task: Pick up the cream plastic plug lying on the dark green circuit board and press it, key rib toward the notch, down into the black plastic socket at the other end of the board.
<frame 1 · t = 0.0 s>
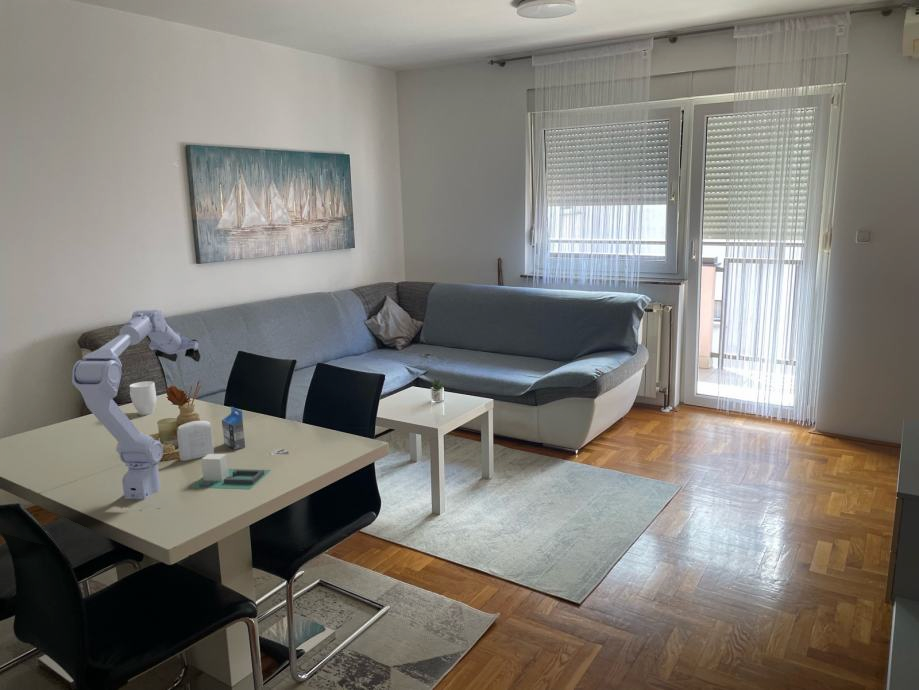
hand: (187, 358, 212), 32 cm above the table, tool tilted 50°, fingers open, 7 cm apart
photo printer: (197, 460, 218), on the table
plug: (216, 477, 198), point 1 cm above the table, touching board
milk carton: (234, 446, 229), on the table
board: (231, 482, 198), on the table
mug: (143, 413, 271), on the table
pliers: (265, 461, 215), on the table
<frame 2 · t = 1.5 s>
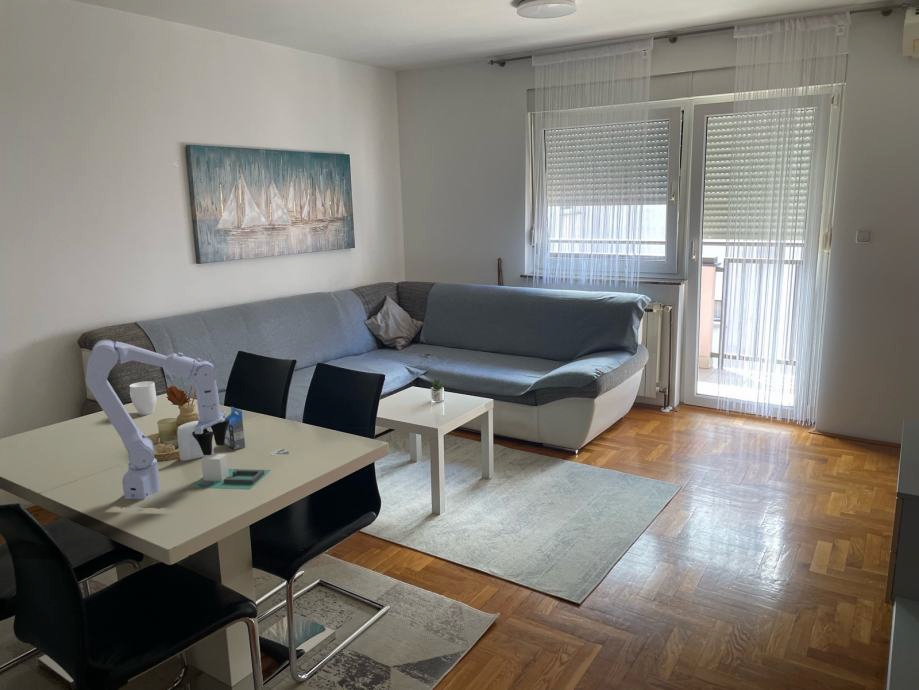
hand: (214, 449, 197), 10 cm above the table, tool pointing down, fingers open, 7 cm apart
nothing on the table moved.
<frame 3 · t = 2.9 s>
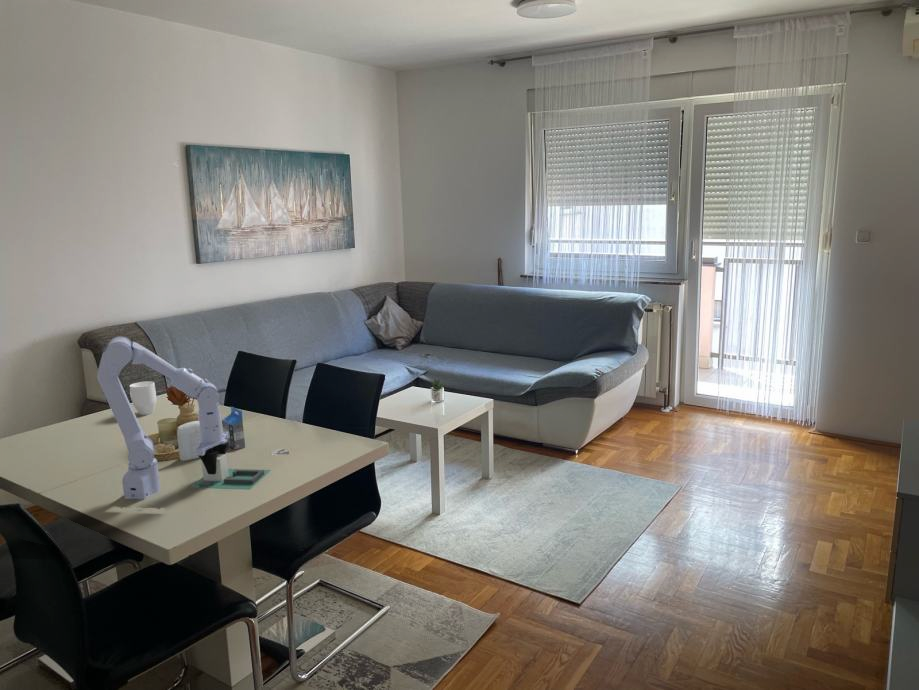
hand: (215, 470, 198), 3 cm above the table, tool pointing down, fingers closed on plug, 4 cm apart
plug: (216, 477, 198), point 1 cm above the table, touching board, gripper
everything else where it was.
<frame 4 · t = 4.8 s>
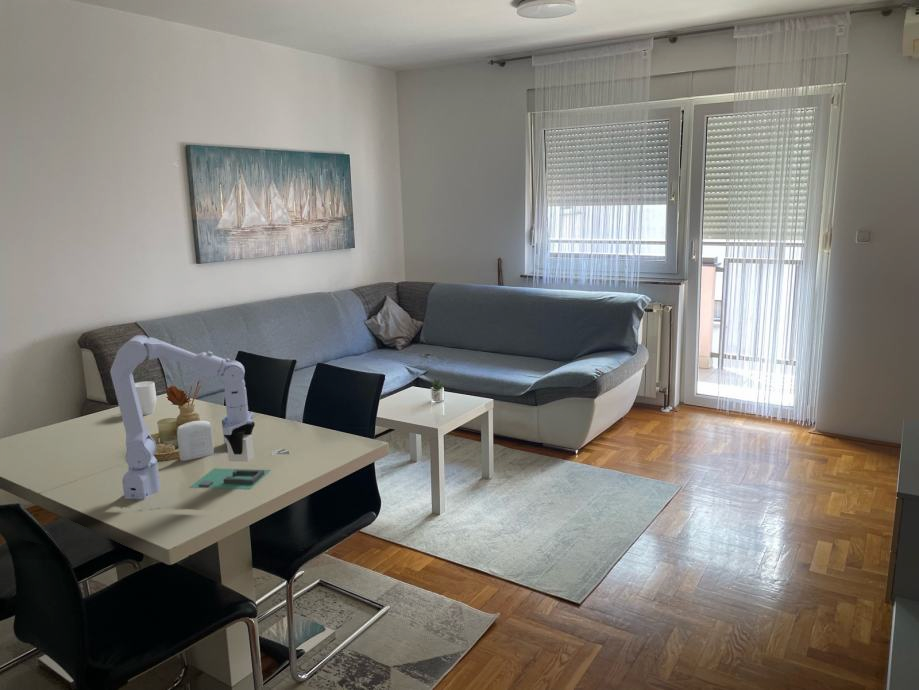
hand: (241, 451, 195), 10 cm above the table, tool pointing down, fingers closed on plug, 4 cm apart
plug: (242, 458, 196), point 7 cm above the table, touching gripper
everything else where it was.
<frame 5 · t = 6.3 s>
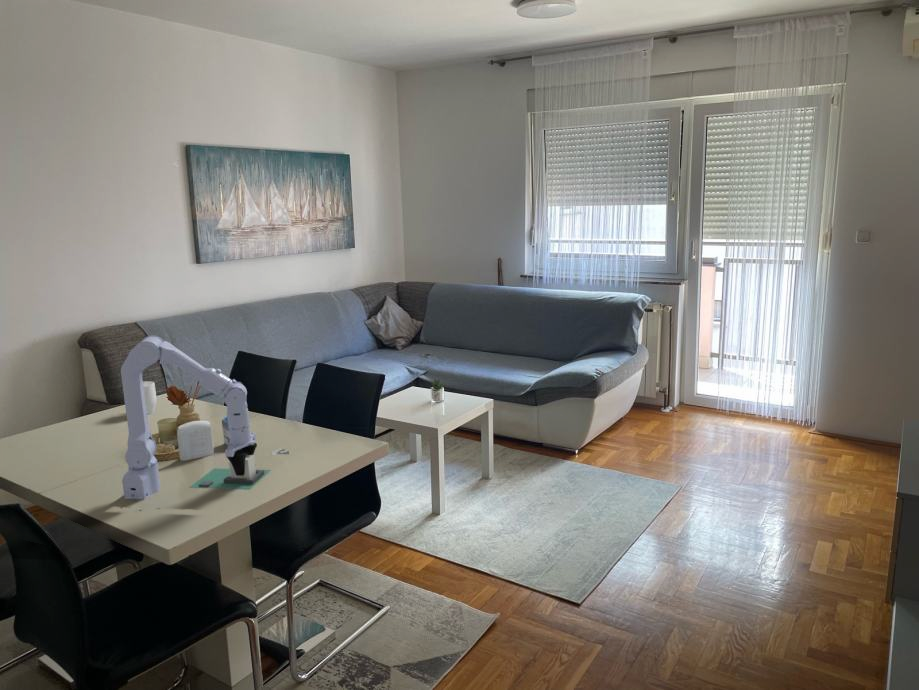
hand: (243, 472, 197), 3 cm above the table, tool pointing down, fingers closed on plug, 4 cm apart
plug: (244, 478, 197), point 1 cm above the table, touching board, gripper
everything else where it was.
when the fingers open (3 cm above the table, at t = 7.0 s): plug stays where it is, resting on board.
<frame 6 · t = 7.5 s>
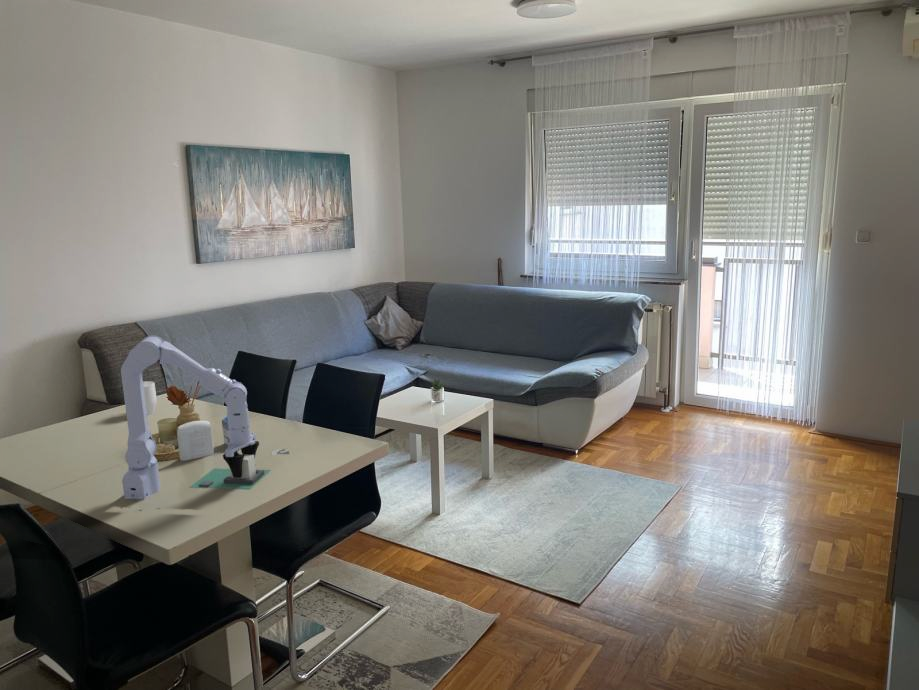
hand: (243, 472, 197), 3 cm above the table, tool pointing down, fingers open, 7 cm apart
plug: (244, 478, 197), point 1 cm above the table, touching board
everything else where it was.
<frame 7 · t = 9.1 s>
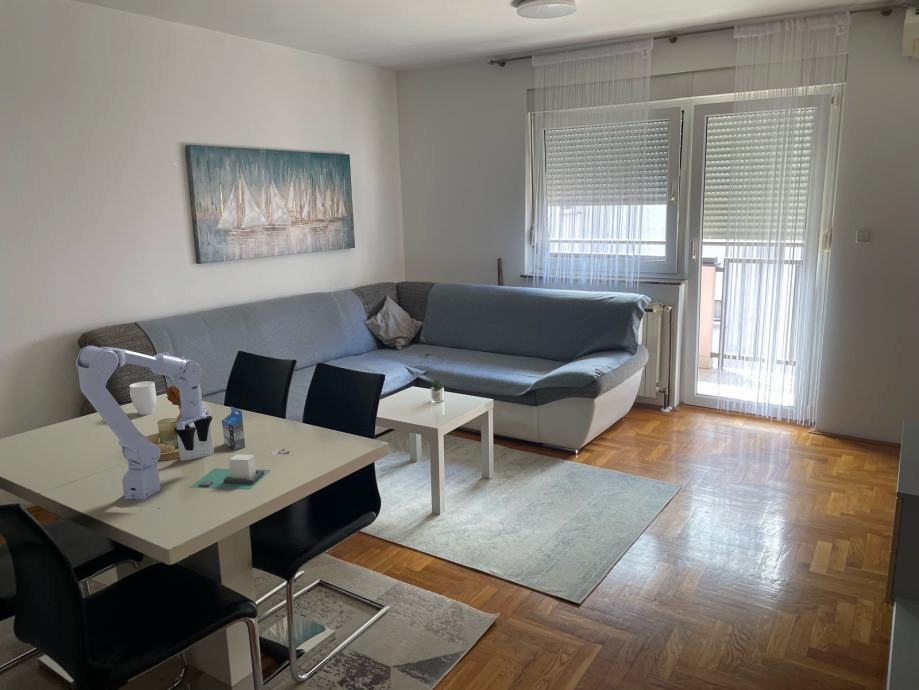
hand: (196, 445, 202), 9 cm above the table, tool pointing down, fingers open, 7 cm apart
nothing on the table moved.
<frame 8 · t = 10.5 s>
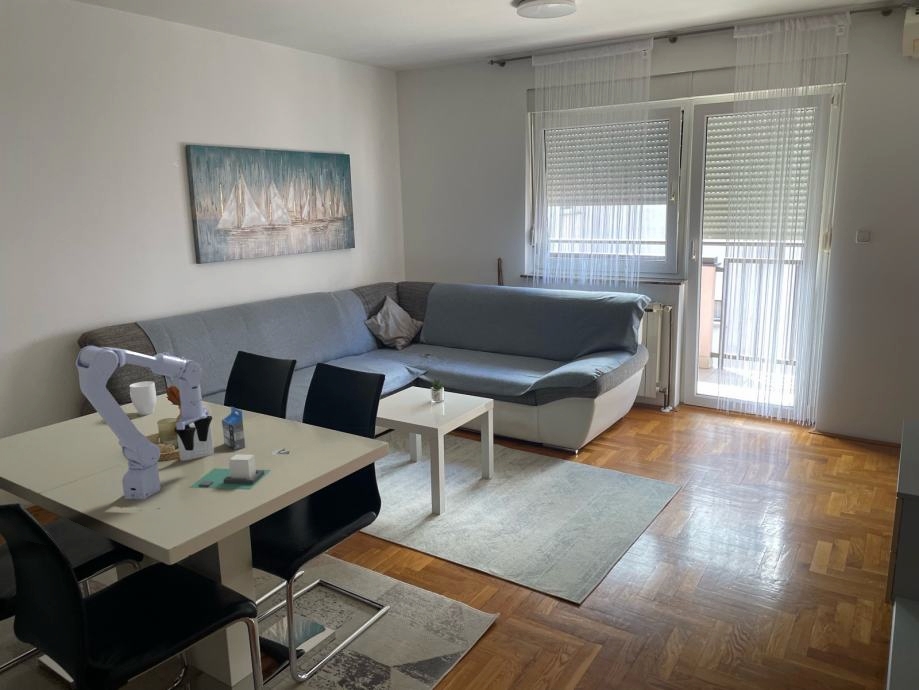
hand: (196, 445, 202), 9 cm above the table, tool pointing down, fingers open, 7 cm apart
nothing on the table moved.
at the end: plug 0.1 cm from the target spot on the board, point 1.2 cm above the board's base; plug tilted 0°; the gripper is holding nothing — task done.
